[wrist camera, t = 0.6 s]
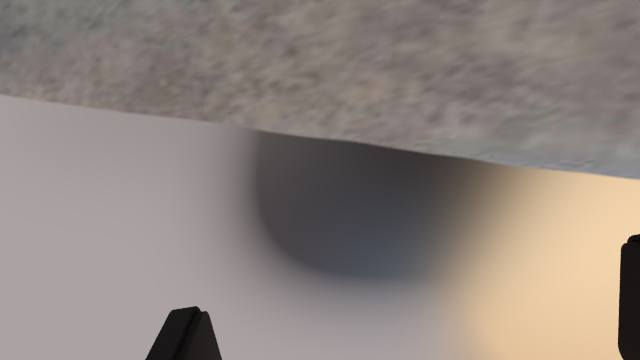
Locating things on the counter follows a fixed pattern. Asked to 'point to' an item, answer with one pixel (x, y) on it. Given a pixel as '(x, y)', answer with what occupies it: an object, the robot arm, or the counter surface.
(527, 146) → the counter surface
